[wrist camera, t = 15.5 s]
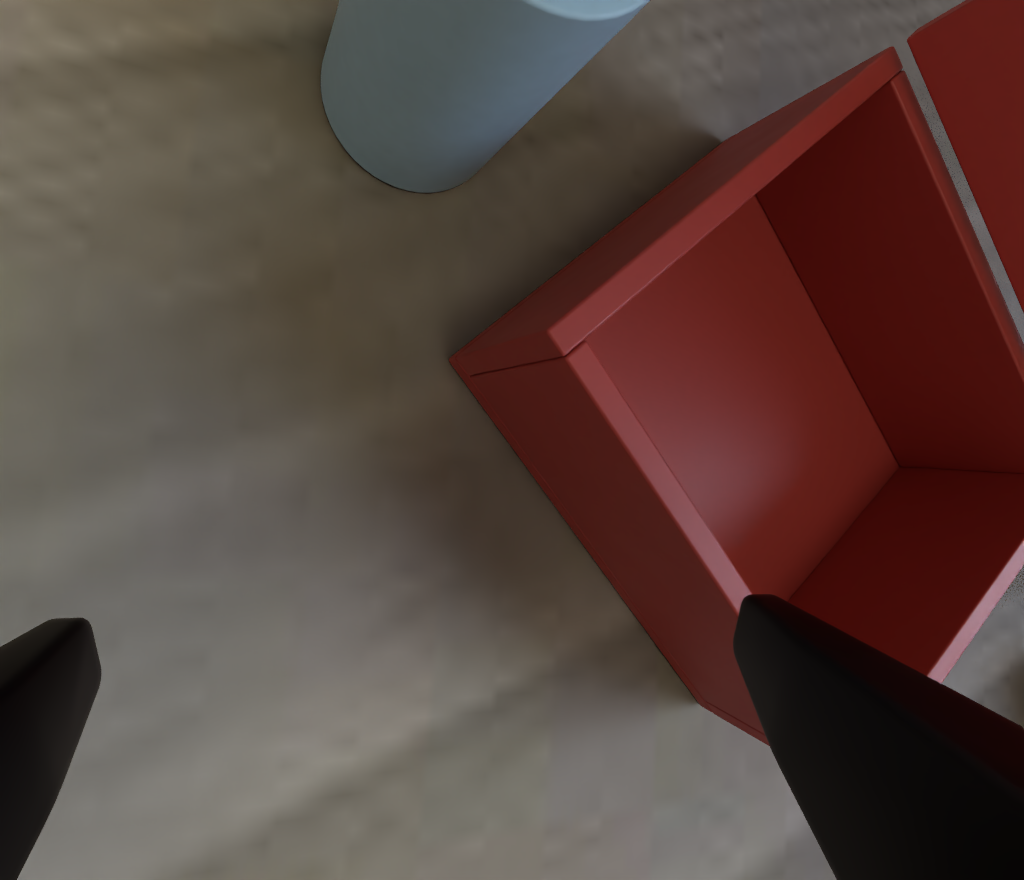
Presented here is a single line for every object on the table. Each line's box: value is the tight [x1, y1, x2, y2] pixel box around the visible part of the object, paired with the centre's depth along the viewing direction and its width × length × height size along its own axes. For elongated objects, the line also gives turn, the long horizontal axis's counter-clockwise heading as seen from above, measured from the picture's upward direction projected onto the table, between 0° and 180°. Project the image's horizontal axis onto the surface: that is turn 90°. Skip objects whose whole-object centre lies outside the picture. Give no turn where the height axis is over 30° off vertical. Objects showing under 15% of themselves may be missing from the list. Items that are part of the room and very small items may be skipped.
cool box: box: [449, 47, 1024, 746], centre depth 21 cm, size 13×15×6 cm
